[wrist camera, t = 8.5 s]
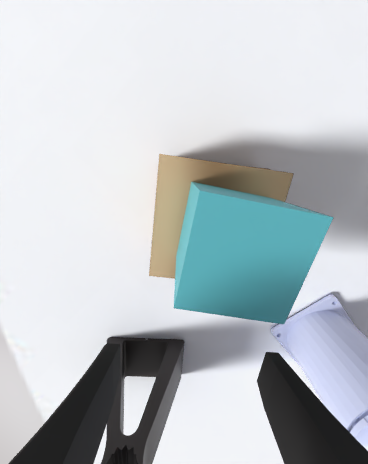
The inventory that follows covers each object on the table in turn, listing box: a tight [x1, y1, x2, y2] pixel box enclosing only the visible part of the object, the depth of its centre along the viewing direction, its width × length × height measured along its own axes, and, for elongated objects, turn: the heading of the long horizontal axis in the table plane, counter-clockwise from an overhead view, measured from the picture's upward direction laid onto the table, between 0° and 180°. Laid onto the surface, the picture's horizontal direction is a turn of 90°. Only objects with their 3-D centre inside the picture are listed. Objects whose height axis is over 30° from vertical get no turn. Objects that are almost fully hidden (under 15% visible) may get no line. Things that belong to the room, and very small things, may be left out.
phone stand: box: [101, 337, 184, 464], centre depth 18 cm, size 9×6×12 cm, turn 85°
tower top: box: [149, 154, 294, 278], centre depth 14 cm, size 8×8×3 cm
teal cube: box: [174, 182, 333, 324], centre depth 10 cm, size 5×5×5 cm
